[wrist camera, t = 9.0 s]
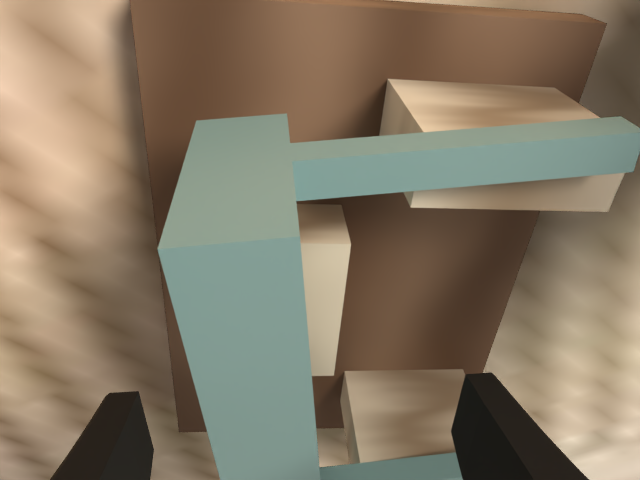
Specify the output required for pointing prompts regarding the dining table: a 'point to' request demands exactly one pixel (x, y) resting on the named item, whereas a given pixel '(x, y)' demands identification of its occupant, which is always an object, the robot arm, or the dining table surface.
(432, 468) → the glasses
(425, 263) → the display stand
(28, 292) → the dining table surface
